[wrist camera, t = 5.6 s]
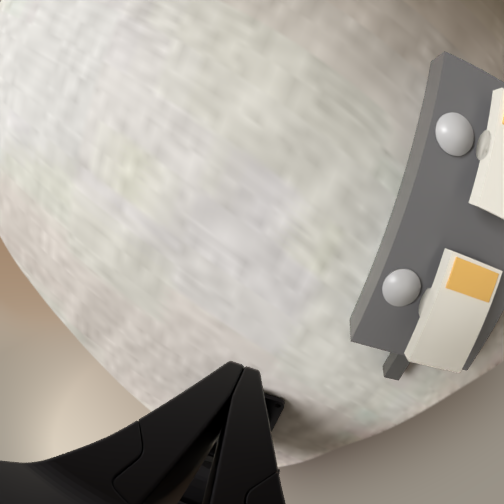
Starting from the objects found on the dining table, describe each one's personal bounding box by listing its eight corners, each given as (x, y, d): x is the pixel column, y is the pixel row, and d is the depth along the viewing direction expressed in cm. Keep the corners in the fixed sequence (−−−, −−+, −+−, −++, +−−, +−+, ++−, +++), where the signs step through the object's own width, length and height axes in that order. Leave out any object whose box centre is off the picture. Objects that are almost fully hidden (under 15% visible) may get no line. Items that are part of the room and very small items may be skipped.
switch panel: (437, 379, 20) (444, 403, 17) (333, 353, 21) (332, 378, 19) (543, 124, 12) (566, 125, 10) (431, 61, 13) (446, 50, 11)
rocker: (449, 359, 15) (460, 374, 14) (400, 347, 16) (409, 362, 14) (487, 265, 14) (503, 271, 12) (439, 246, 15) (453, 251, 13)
